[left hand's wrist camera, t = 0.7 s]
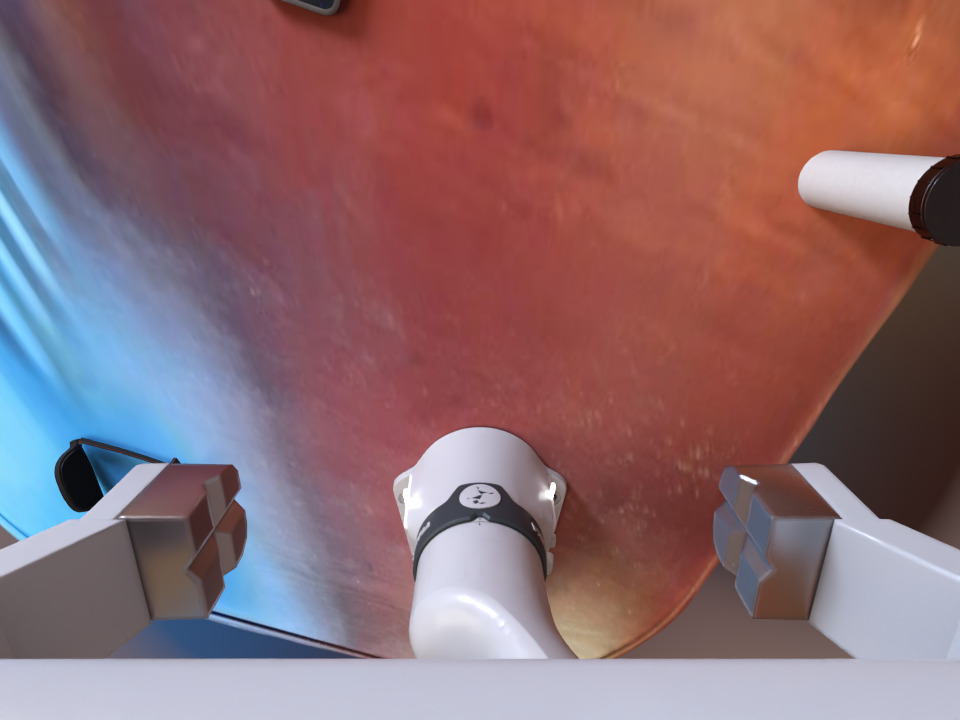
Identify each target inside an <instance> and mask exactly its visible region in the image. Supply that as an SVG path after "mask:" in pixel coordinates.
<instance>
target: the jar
mask: <svg viewBox="0 0 960 720" xmlns="http://www.w3.org/2000/svg"><path fill="white" fill-rule="evenodd" d="M942 159H945V158H943V157H928V156H913V155H897V154H882V153H867V152H852V151H837V150H829V151H824V152H821V153H819V154H817V155H815V156H814V157H813V158H811V159H810V160H809V161H808V162H807V163H806V165H805V166H804V167H803V169H802V171H801V173H800V176H799V180H798V190H799V194H800V196H801V198H802V199H803V201H804V202H805V203H806V204H808V205H809V206H812V207H815V208H819V209H823V210H827V211H831V212H835V213H839V214H844V215H848V216H852V217H856V218H860V219H864V220H869V221H873V222H877V223H881V224H885V225H889V226H893V227H898V228H902V229H906V230H910V231H914V232H916V231H915V230H914V228H912V225H911V222H910V219H909V214H908V207H909V200H910V198H909V197H910V196H911V193H912V191H913V189H914V187H915V185H916V183H917V182H918V181H917V180H919V179H920V178H921V176H922V175H923V174H924V173H925V172H926V171H927V170H928V169H929V168H930V166H933V165H934V164H936V163H937V162H939V161H941V160H942Z"/></svg>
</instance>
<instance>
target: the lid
mask: <svg viewBox="0 0 960 720" xmlns="http://www.w3.org/2000/svg"><path fill="white" fill-rule="evenodd" d="M917 181H918V182H917V183H916V185H915V187H914V189H913V191H912V193H911V196H910V197H909V198H910V200H909V207H908V214H909V219H910V222H911V225H912V228H914V230H915V231H916V232H917V233H918V234H919V235H920V236H922V237H921V238H923V239H927V240H930V241H934V243H936V244H940V245H944V246H947V245H950V246H960V154H957V155H953V156H946V158H945V159H942V160H941V161H939V162H937V163H936V164H934V165H933V166H930V168H929V169H928V170H927V171H926V172H925V173H924V174H923V175H922V176H921V178H920V179H919V180H917Z"/></svg>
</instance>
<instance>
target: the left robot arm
mask: <svg viewBox="0 0 960 720" xmlns="http://www.w3.org/2000/svg"><path fill="white" fill-rule="evenodd" d="M240 489H241V484H240V479H239V474H238V470H237V469H236V468H235V467H234V466H233V465H224V464H171V463H147V464H139V465H136V466H135V467H134V468H133V469H132V470H131V471H130V472H129V473H128V474H127V475H126V476H125V477H124V478H123V479H122V480H121V481H120V482H118V483H117V484H116V485H115V486H114V487H113V488H112V489H111V490H110V491H109V492H108V493H107V494H106V495H105V496H104V497H103V498H102V499H101V500H100V501H99V502H98V503H97V504H96V505H95V506H94V507H93V508H92V509H91V510H90V511H89V512H88V513H86V514H85V515H84V516H83V517H82V518H81V519H70V520H68V521H66V522H63V523H61V524H59V525H56V526H54V527H52V528H49V529H47V530H45V531H43V532H40V533H38V534H36V535H33V536H31V537H29V538H26V539H24V540H22V541H19V542H17V543H15V544H13V545H10V546H8V547H6V548H3V549H1V550H0V720H960V550H959V549H956V548H954V547H952V546H950V545H947V544H945V543H943V542H940V541H938V540H936V539H933V538H931V537H929V536H927V535H924V534H922V533H920V532H917V531H915V530H913V529H911V528H908V527H906V526H904V525H901V524H899V523H897V522H894V521H892V520H890V519H879V518H878V517H877V516H876V515H875V514H874V513H873V512H872V511H870V510H869V509H868V508H867V507H866V506H865V505H864V504H863V503H862V502H861V501H860V500H859V499H858V498H857V497H856V496H855V495H854V494H853V493H852V492H851V491H850V490H849V489H848V488H847V487H846V486H845V485H844V484H843V483H842V482H841V481H840V480H839V479H837V477H835V476H834V475H833V474H832V473H831V472H830V471H829V470H828V469H827V468H826V467H825V466H824V465H821V464H818V463H800V464H763V465H730V466H725V467H724V470H723V472H722V474H721V478H720V483H719V489H720V491H721V492H722V494H723V495H724V497H725V498H726V500H725V501H724V502H723V503H722V504H721V505H720V506H719V507H718V508H717V509H716V510H715V513H714V521H713V537H714V546H715V549H716V552H717V555H718V558H719V559H720V561H721V563H722V565H723V567H724V568H726V569H727V570H729V571H730V572H732V573H733V574H735V575H736V576H737V577H736V583H735V589H736V590H737V592H738V594H739V596H740V598H741V599H742V601H743V603H744V605H745V606H746V608H747V610H748V612H749V614H750V615H751V617H752V618H753V619H785V620H809V623H810V624H811V625H812V626H813V627H815V628H816V629H817V630H819V631H820V632H821V633H822V634H824V635H825V636H826V637H828V638H829V639H830V640H831V641H833V642H834V643H835V644H837V645H838V646H839V647H840V648H842V649H843V650H844V651H846V652H847V653H848V654H849V655H851V656H852V657H853V658H855V659H579V658H578V657H577V656H576V655H575V654H574V652H573V651H572V650H571V649H570V648H569V646H568V645H567V644H566V642H565V641H564V639H563V638H562V637H561V635H560V633H559V631H558V630H557V628H556V625H555V623H554V620H553V616H552V613H551V609H550V605H549V601H548V597H547V592H546V586H545V580H546V575H551V573H552V570H553V562H554V558H553V554H552V553H551V552H549V549H550V548H554V547H555V545H556V535H555V534H554V532H555V528H556V525H557V522H558V518H559V515H560V511H561V508H562V505H563V501H564V498H565V494H566V490H567V487H566V481H565V479H564V478H563V477H562V476H561V475H559V474H558V473H556V472H555V471H553V470H551V469H550V468H548V467H546V466H545V465H544V464H543V463H542V461H541V460H540V459H539V457H538V456H537V454H536V453H535V452H534V451H533V449H532V448H531V447H530V446H529V445H528V444H526V443H525V442H524V441H523V440H521V439H520V438H518V437H516V436H514V435H512V434H510V433H508V432H505V431H502V430H498V429H494V428H486V427H474V428H466V429H462V430H458V431H455V432H452V433H450V434H448V435H446V436H444V437H442V438H440V439H439V440H437V441H436V442H435V443H434V444H432V445H431V446H430V447H429V448H428V449H427V451H426V452H425V453H424V454H423V456H422V457H421V459H420V460H419V461H418V463H417V464H416V465H415V466H414V467H412V468H410V469H409V470H407V471H405V472H404V473H402V474H401V475H399V476H398V477H397V478H396V479H395V481H394V487H393V490H394V494H395V498H396V501H397V504H398V508H399V511H400V515H401V518H402V522H403V525H404V528H405V532H406V535H407V539H408V542H409V545H410V549H411V552H412V556H413V575H414V580H415V589H414V596H413V603H412V610H411V617H410V625H409V637H410V643H411V647H412V650H413V653H414V655H415V658H416V659H106V658H107V657H108V656H109V655H111V654H112V653H113V652H114V651H116V650H117V649H118V648H120V647H121V646H122V645H124V644H125V643H126V642H127V641H129V640H130V639H131V638H133V637H134V636H135V635H136V634H138V633H139V632H140V631H142V630H143V629H144V628H146V627H147V626H148V625H149V624H151V620H174V619H208V617H209V615H210V614H211V612H212V610H213V608H214V607H215V605H216V603H217V601H218V599H219V598H220V596H221V594H222V592H223V590H224V589H225V582H224V577H223V576H224V575H225V574H227V573H228V572H230V571H232V570H233V569H235V568H236V567H237V565H238V563H239V561H240V559H241V557H242V555H243V552H244V548H245V544H246V539H247V519H246V513H245V510H244V509H243V508H242V507H241V506H240V505H239V504H238V503H237V502H236V501H235V500H234V498H235V497H236V495H237V494H238V492H239V491H240ZM554 494H555V495H556V496H555V497H553V495H554Z"/></svg>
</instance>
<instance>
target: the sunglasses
mask: <svg viewBox="0 0 960 720" xmlns="http://www.w3.org/2000/svg"><path fill="white" fill-rule="evenodd" d="M83 443H84V444H88V445H91V446H95V447H99V448H103V449H106V450H110V451H114V452H117V453H121V454H124V455H128V456H131V457H134V458H138V459H141V460H144V461H147V462H150V463H165V462H162V461H159V460H157V459H154V458H151V457H148V456H145V455H142V454H138V453H135V452H132V451H129V450H126V449H122V448H119V447H115V446H111V445H108V444H104V443H100V442H97V441H93V440H89V439H85V438H81V439H76V440H73V441H71V442H70V448H69V449H68V450H67V451H66V452H65V453H63V454H62V455H61V457H60V458H59V460H58V461H57V463H56V465H55V479H56V482H57V485H58V487H59V490H60V492H61V494H62V496H63V498H64V500H65V501H66V503H67V504H68V506H69V507H70V508H71V509H72V510H74V511H76V512H86V511H90V510H91V509H92V508H93V507H94V506H95V505H96V504H97V503H98V502H99V501H100V500H101V499H102V498H103V497H104V496H103V493H102V491H101V488H100V486H99V483H98V480H97V478H96V475H95V473H94V470H93V468H92V466H91V463H90V461H89V459H88V457H87V455H86V453H85V452H84V450H83V448H82V444H83ZM171 464H181V463H180V462H179V461H178V459H177V458H173V460H172V461H171Z"/></svg>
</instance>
